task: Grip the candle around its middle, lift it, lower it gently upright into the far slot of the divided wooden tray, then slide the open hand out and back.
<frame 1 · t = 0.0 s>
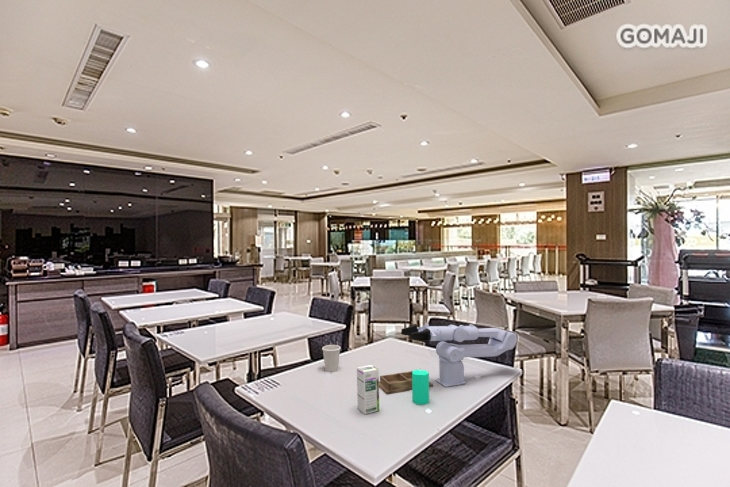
hand: (406, 334, 144), 22 cm above the table, tool horizontal, fingers open, 7 cm apart
divided wooden tray: (404, 385, 148), on the table
syrup box: (368, 410, 127), on the table
dixie cup: (331, 369, 167), on the table
candle: (420, 401, 134), on the table
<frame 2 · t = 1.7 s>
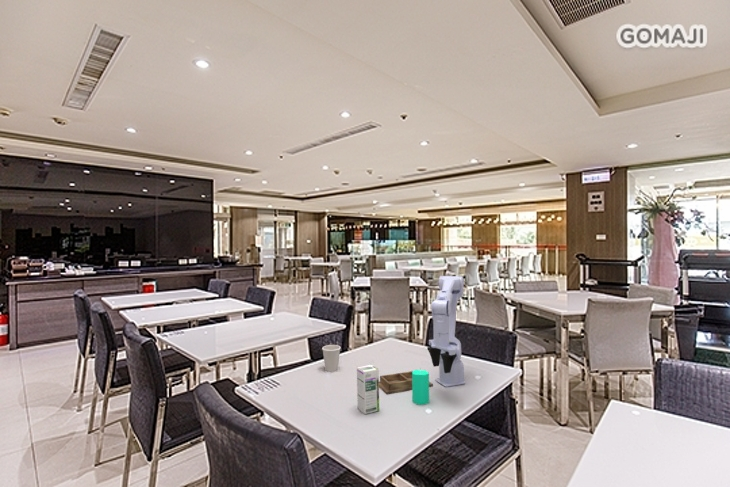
hand: (441, 369, 136), 10 cm above the table, tool pointing down, fingers open, 7 cm apart
nothing on the table moved.
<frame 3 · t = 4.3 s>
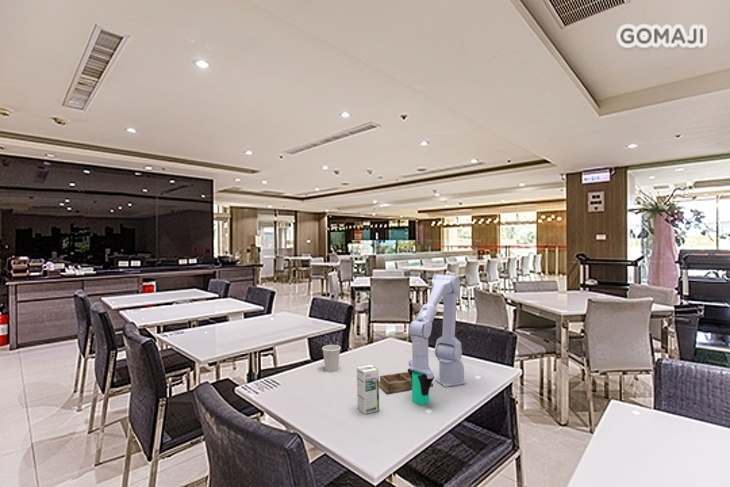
hand: (420, 391, 133), 3 cm above the table, tool pointing down, fingers closed on candle, 6 cm apart
candle: (420, 401, 134), on the table, touching gripper
everything else where it was.
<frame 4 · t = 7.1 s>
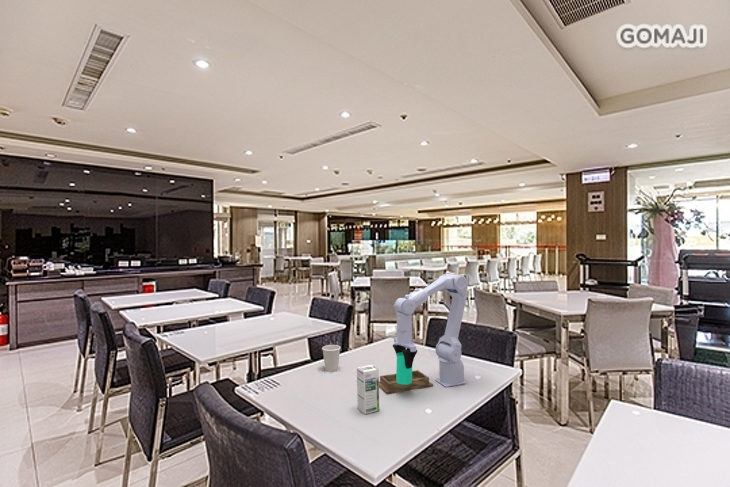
hand: (404, 365, 141), 10 cm above the table, tool pointing down, fingers closed on candle, 6 cm apart
candle: (404, 382, 140), point 4 cm above the table, touching gripper
everything else where it was.
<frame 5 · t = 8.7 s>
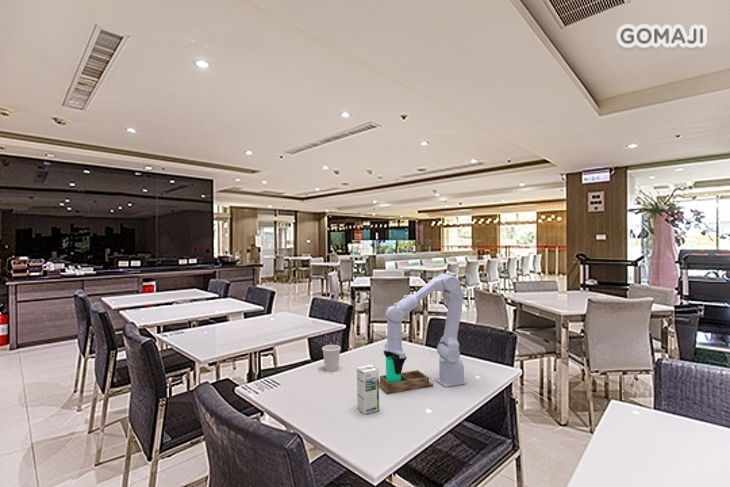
hand: (394, 371, 146), 6 cm above the table, tool pointing down, fingers closed on candle, 6 cm apart
candle: (393, 385, 146), point 1 cm above the table, touching gripper, divided wooden tray
everything else where it was.
when the fingers open (6 cm above the table, at t = 9.4 s): candle stays where it is, resting on divided wooden tray.
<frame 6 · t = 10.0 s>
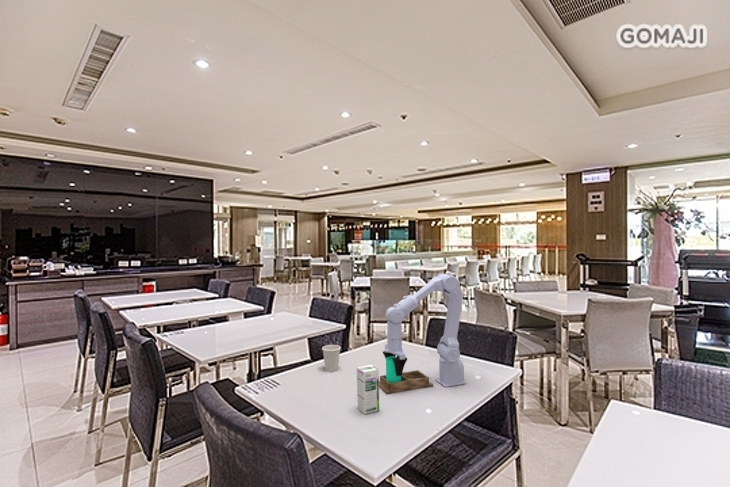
hand: (394, 372, 146), 6 cm above the table, tool pointing down, fingers open, 7 cm apart
candle: (393, 385, 146), point 1 cm above the table, touching divided wooden tray
everything else where it was.
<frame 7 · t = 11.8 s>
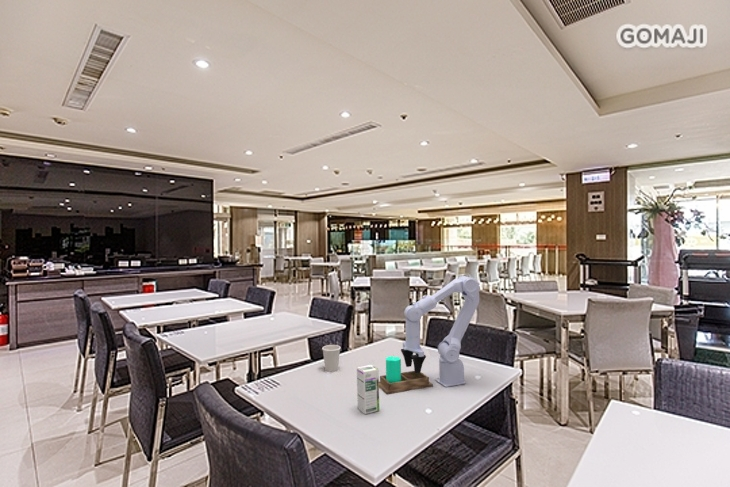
hand: (413, 369, 149), 6 cm above the table, tool pointing down, fingers open, 7 cm apart
nothing on the table moved.
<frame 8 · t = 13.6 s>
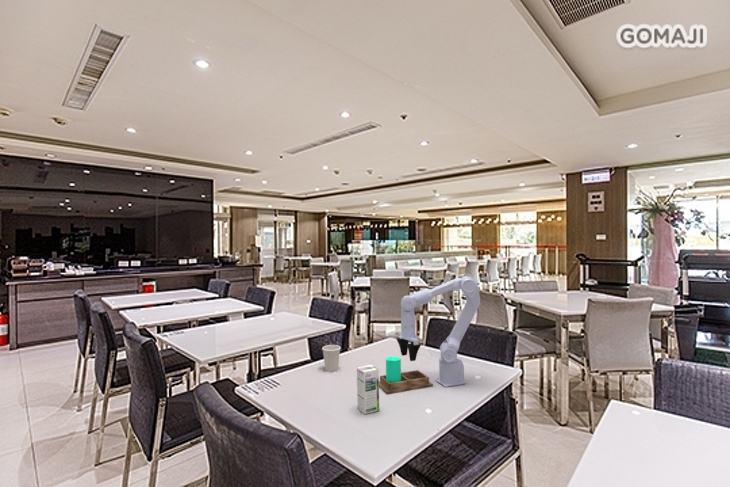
hand: (408, 357, 153), 9 cm above the table, tool pointing down, fingers open, 7 cm apart
nothing on the table moved.
at the end: candle 0.7 cm from the target spot on the divided wooden tray, point 0.8 cm above the divided wooden tray's base; candle tilted 0°; the gripper is holding nothing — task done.
